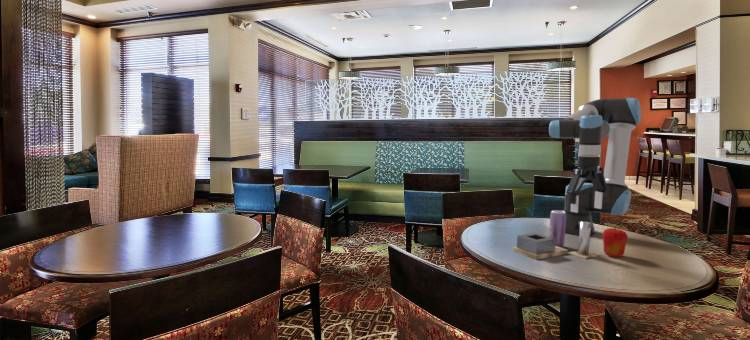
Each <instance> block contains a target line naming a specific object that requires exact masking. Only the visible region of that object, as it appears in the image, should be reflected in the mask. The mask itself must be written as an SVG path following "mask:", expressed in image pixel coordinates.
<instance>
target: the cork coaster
mask: <svg viewBox="0 0 750 340" xmlns="http://www.w3.org/2000/svg"><path fill="white" fill-rule="evenodd" d="M568 254H570V255H572V256H575V257H578V258H581V259H584V260H586V259H591V258H592V259H593V258H597V257H598V254H595V253H593V252H590V251H589V255H581V254H579V253H578V250H573V251H570V252H568Z"/></svg>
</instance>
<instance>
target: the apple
mask: <svg viewBox="0 0 750 340" xmlns="http://www.w3.org/2000/svg"><path fill="white" fill-rule="evenodd" d="M628 238H629V237H628V234H627V232H626V231H624V230H622V229H619V228H616V226H614V228H613V227H611V228H605V229H604V230H603V232H602V240H603V241H602V242H603V251H604V253H605V255H606V256H607V257H610V258H620V257H622V256H623V255H624V254H625V249H626V246H627V242H628Z"/></svg>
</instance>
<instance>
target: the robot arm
mask: <svg viewBox="0 0 750 340" xmlns="http://www.w3.org/2000/svg"><path fill="white" fill-rule="evenodd" d="M641 123H642V108H641V103H640V101H639V99H638V98H636V97H623V98H622V97H620V98H618V97H617V98H599V99H595V100H591V101H588V102H587V103H585V104H583V105H581V106H579V108H578V109H577V110H576V111H575V112H573V113H572V114H570V115H569V116H567V117H565V118H564V119H562V120H561V119H555V120H551V121H550V123H549V126H548V134H549V136H550V138H551V139H552V138H553V139H554V138H555V139H579V140H578V155H579V156H578V157H577V165H578V166H579V169H578V168H574V169H573V172H572V176H571V178H570V182H569V184H568V185H566V186H565V193H564V207H563V211H565V212H566V225H565V234H571V235H577V236H579V231H580V224H578V221H586V222H590V223H591V224H593V227H591V230H590V236H591V235H594V234H595V227H594V223H593V219H592V212H593V213H599V214H606V215H611V216H615V215H616V216H623V215H625V214H626V213H627V211H628V209H629V207H630V205H631V199H632V191H631V190H630V189H628V188H629V187H628V185H627V183H626V182H625V181H626V173H627V167H628V166H627V164H628V159H629V151H630V150H629V149H630V145H631V144H630V143H631V137H632V131H634V130H635V129H636V128H637V125H639V124H641ZM606 137H608V141H607V149H606V155H605V163H604V167H601V157H600V156H601V154H602V139H604V138H606ZM587 181H591V183H590V182H587Z"/></svg>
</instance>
